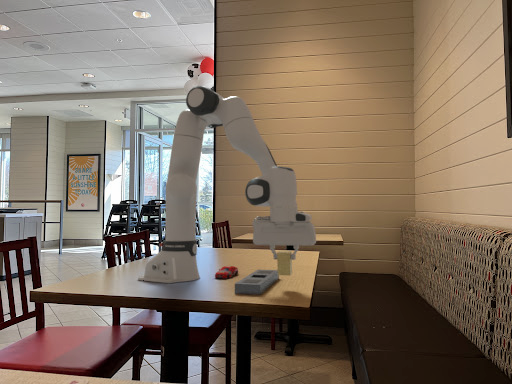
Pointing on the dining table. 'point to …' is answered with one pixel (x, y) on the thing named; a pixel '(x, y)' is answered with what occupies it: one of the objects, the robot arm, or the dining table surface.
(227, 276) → the race car
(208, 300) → the dining table surface
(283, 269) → the pale yellow block
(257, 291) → the rail
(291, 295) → the dining table surface
